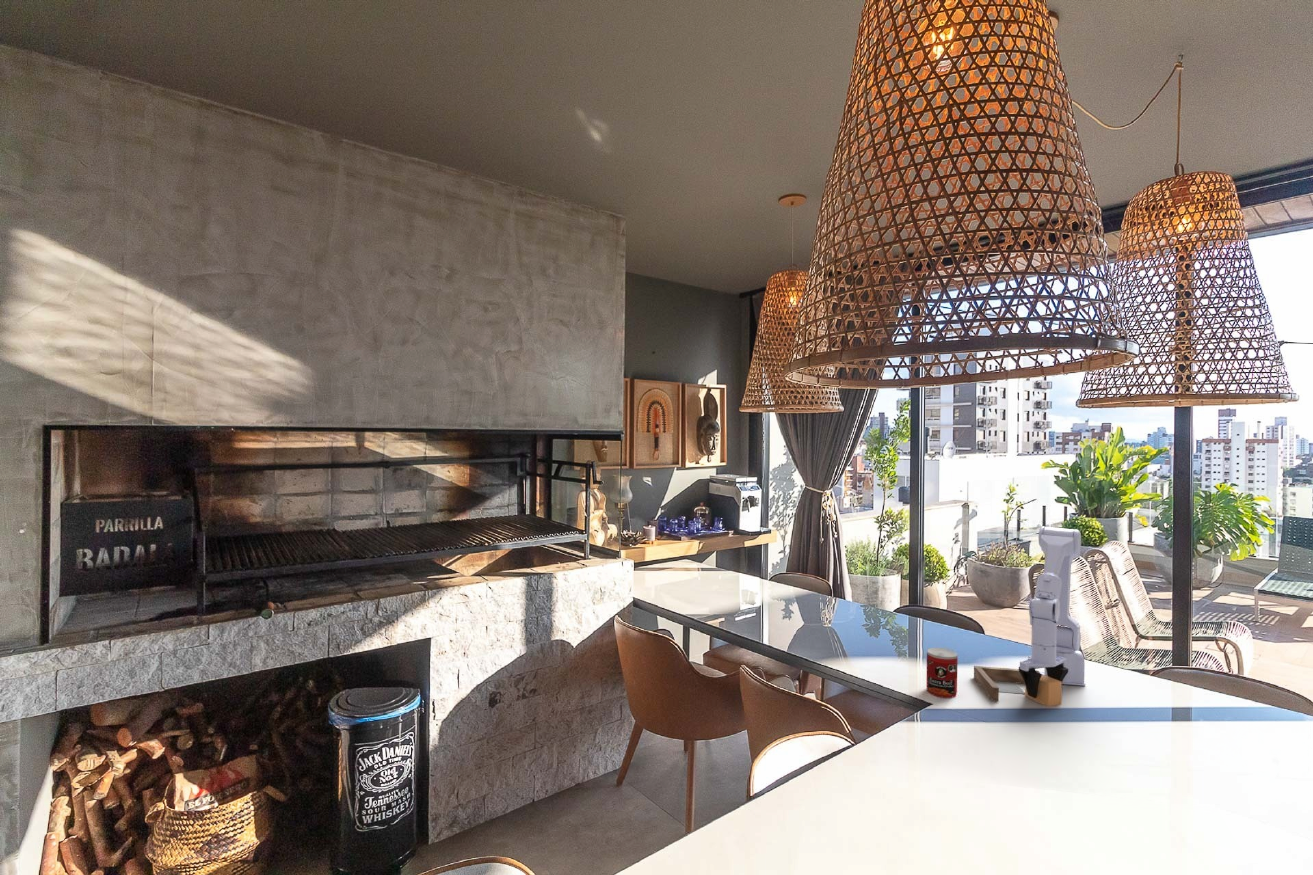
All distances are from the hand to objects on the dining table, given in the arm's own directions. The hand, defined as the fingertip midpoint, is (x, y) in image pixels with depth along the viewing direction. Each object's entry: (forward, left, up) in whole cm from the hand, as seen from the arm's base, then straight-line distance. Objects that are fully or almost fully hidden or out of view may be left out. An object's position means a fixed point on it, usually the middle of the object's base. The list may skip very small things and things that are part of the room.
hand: (1043, 694), depth 175 cm
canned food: (+26, 0, -2) cm, 26 cm away
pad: (+7, -8, -1) cm, 11 cm away
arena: (+4, -5, -1) cm, 7 cm away
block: (0, 0, -2) cm, 2 cm away
